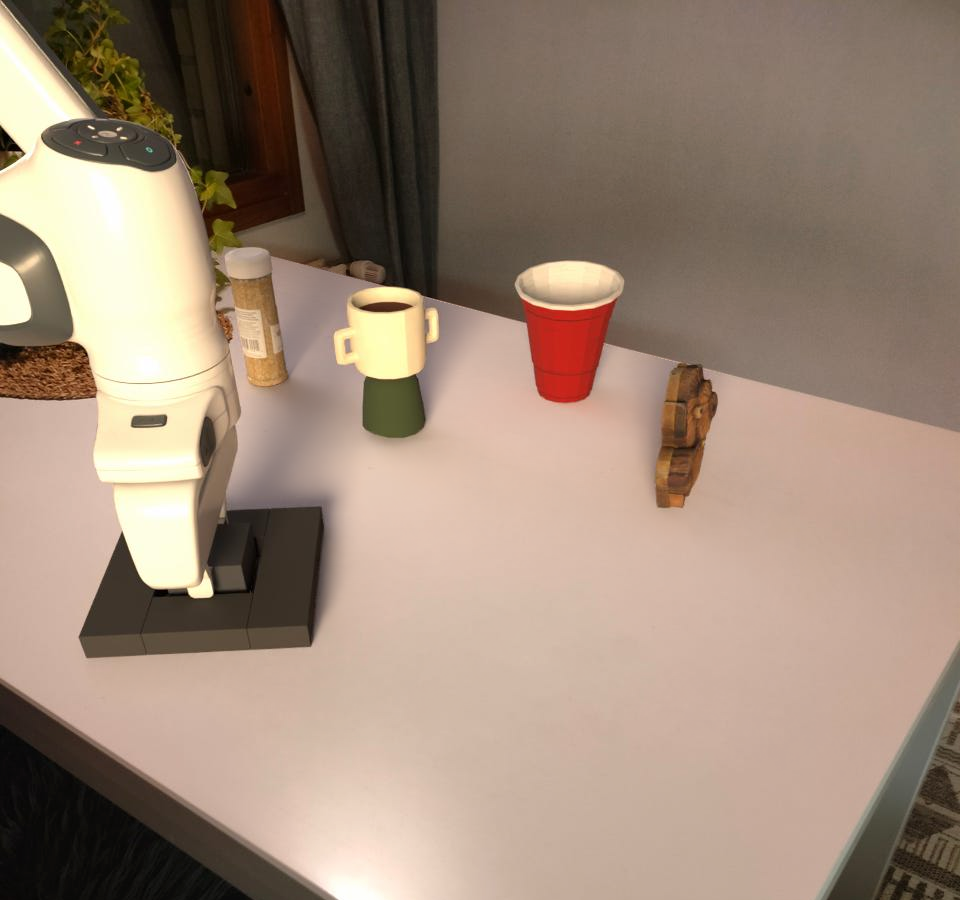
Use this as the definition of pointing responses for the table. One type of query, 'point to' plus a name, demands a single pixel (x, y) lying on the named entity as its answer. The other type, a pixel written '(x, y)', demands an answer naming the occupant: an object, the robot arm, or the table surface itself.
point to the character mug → (388, 356)
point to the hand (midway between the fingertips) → (211, 564)
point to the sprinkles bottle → (257, 315)
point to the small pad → (230, 560)
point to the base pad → (215, 597)
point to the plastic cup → (567, 323)
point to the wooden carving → (683, 433)
